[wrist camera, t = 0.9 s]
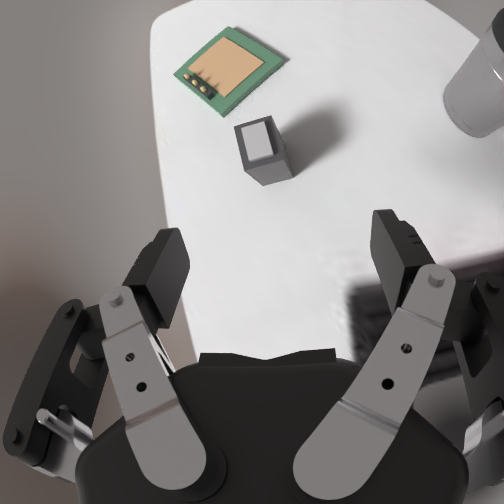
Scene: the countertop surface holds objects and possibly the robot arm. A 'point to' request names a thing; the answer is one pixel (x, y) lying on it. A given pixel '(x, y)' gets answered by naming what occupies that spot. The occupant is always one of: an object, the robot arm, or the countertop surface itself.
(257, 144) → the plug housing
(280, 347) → the countertop surface
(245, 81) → the circuit board
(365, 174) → the countertop surface
